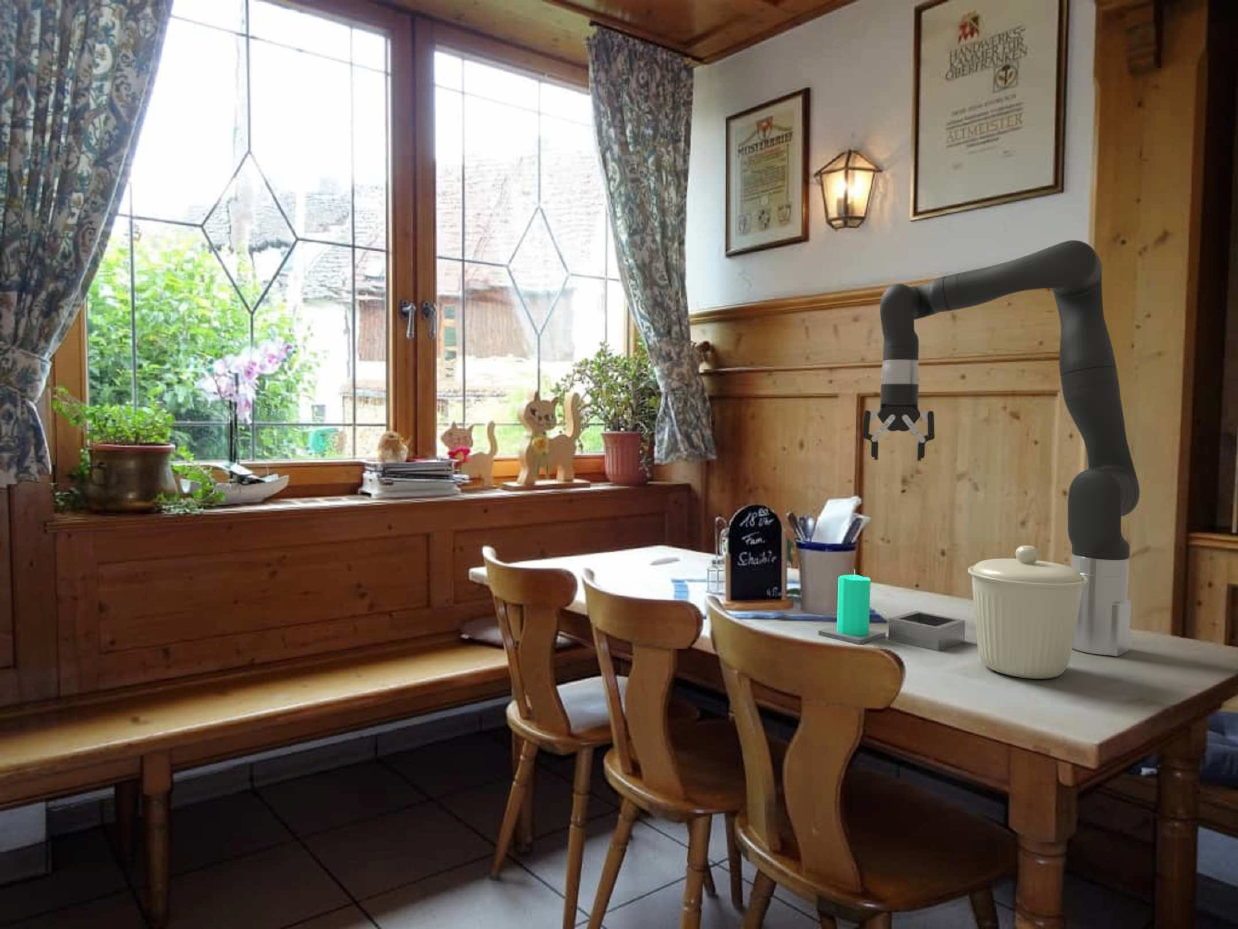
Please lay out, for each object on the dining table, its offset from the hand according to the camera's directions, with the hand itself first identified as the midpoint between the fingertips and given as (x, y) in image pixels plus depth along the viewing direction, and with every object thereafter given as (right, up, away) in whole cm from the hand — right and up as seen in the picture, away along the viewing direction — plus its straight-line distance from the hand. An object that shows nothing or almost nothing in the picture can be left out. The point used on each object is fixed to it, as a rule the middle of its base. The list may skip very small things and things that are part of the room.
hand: (897, 460), depth 181 cm
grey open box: (0, -34, -18) cm, 38 cm away
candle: (-13, -33, -15) cm, 39 cm away
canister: (+9, -36, -36) cm, 51 cm away
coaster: (-13, -34, -15) cm, 39 cm away
